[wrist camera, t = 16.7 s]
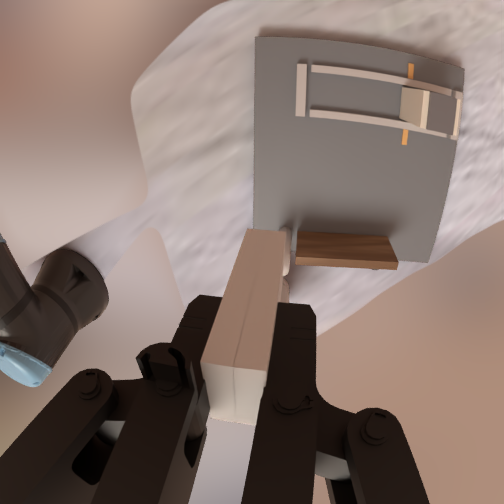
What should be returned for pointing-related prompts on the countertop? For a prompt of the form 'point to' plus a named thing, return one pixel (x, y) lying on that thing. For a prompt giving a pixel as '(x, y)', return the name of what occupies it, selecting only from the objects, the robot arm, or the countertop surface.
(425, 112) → the fader knob
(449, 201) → the countertop surface
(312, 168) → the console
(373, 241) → the door
